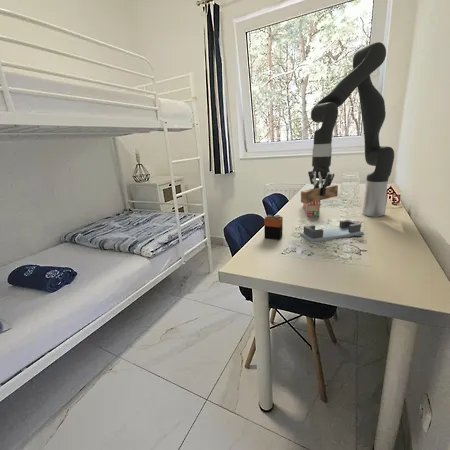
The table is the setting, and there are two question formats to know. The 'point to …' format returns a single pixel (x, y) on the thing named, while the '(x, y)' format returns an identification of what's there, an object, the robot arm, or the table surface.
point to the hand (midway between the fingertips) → (319, 194)
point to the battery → (273, 227)
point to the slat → (318, 194)
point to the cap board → (332, 231)
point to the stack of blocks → (312, 208)
